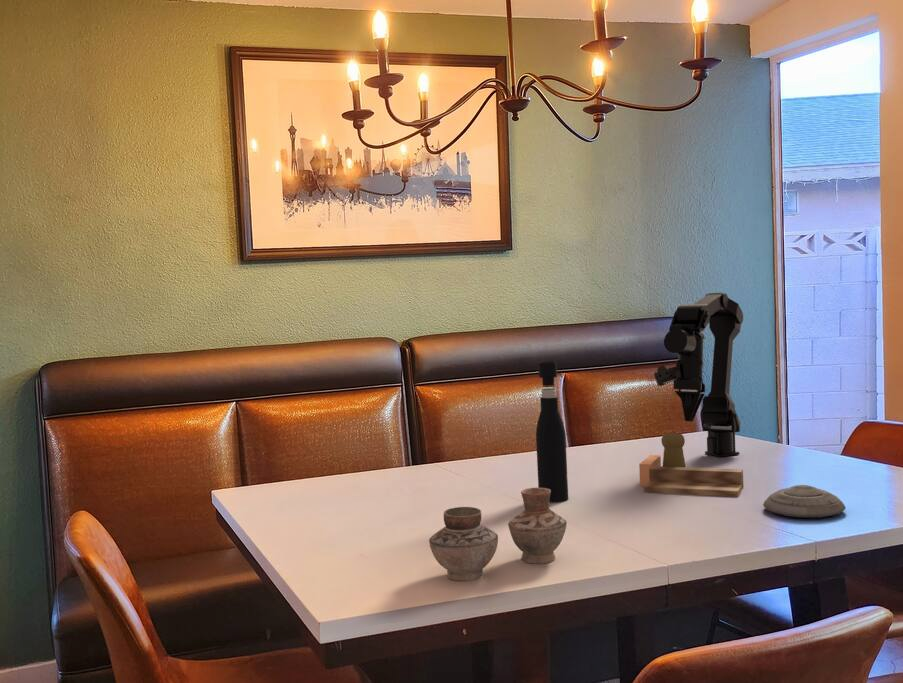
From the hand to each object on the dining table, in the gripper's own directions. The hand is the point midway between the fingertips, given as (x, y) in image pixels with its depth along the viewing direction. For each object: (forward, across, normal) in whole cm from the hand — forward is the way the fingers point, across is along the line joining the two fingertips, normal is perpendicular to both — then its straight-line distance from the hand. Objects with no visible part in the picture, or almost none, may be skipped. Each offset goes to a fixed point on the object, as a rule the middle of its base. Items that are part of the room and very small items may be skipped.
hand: (689, 421), depth 219 cm
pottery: (+26, +77, -24) cm, 85 cm away
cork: (+14, +9, -2) cm, 17 cm away
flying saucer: (+17, +34, +25) cm, 45 cm away
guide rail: (+14, +14, +2) cm, 20 cm away
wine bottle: (+18, +30, -26) cm, 43 cm away
